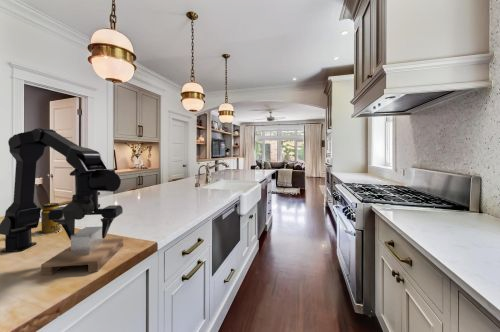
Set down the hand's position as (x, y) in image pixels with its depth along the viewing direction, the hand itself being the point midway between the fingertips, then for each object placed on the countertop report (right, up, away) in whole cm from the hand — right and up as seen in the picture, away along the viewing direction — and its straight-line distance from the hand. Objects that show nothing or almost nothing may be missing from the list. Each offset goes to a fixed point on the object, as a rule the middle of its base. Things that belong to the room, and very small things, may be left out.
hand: (88, 238), depth 70 cm
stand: (0, -6, 0) cm, 6 cm away
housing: (0, -3, 0) cm, 3 cm away
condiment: (-34, -5, +24) cm, 42 cm away
